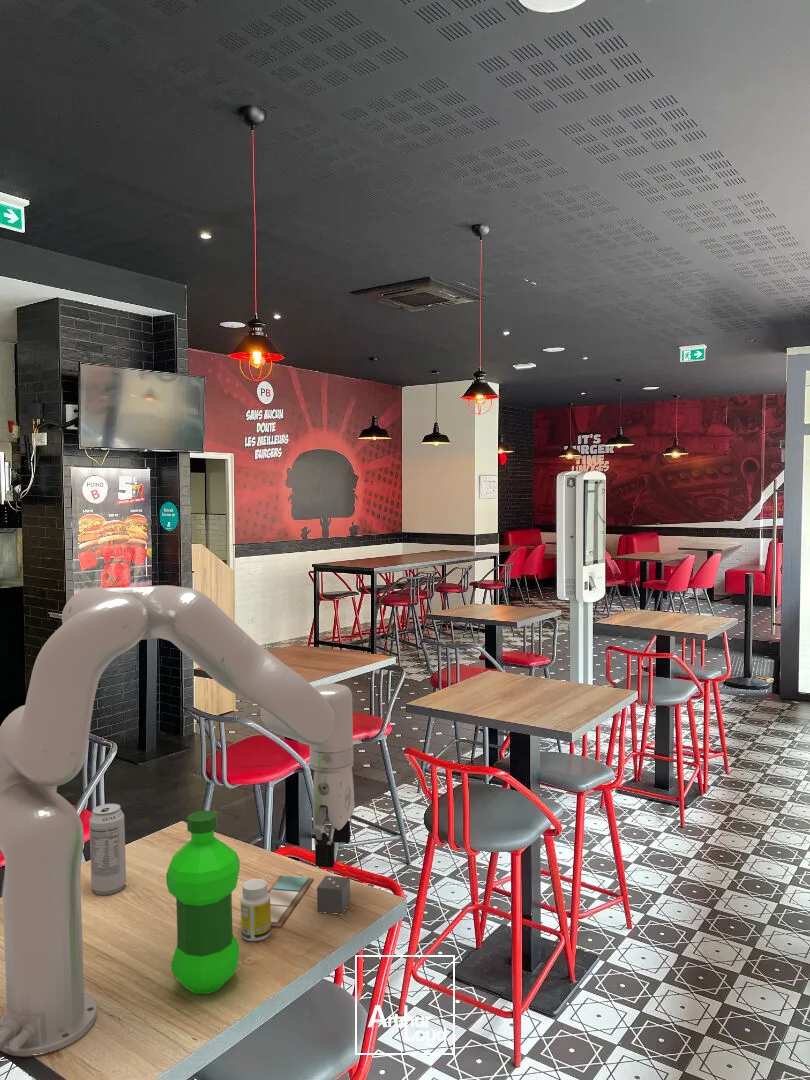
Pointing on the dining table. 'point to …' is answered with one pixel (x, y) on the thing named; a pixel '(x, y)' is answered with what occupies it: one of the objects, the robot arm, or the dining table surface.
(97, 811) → the energy drink can
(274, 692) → the robot arm
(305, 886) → the board
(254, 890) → the supplement bottle
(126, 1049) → the dining table surface
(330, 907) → the die
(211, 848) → the plastic bottle
